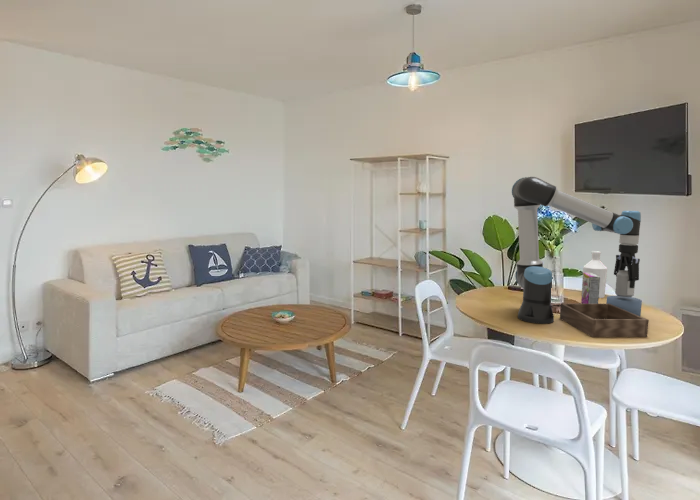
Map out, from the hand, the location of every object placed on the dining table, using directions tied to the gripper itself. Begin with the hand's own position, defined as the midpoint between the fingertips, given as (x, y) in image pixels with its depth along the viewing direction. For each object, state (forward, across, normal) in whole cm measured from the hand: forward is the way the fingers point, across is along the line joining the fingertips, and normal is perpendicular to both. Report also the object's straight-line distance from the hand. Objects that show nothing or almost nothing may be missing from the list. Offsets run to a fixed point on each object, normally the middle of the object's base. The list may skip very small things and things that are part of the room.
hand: (624, 292), depth 206 cm
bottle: (+11, +41, -9) cm, 43 cm away
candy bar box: (+11, +18, +6) cm, 22 cm away
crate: (+11, -18, +21) cm, 30 cm away
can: (+2, 0, 0) cm, 2 cm away
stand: (+11, 0, 0) cm, 11 cm away
